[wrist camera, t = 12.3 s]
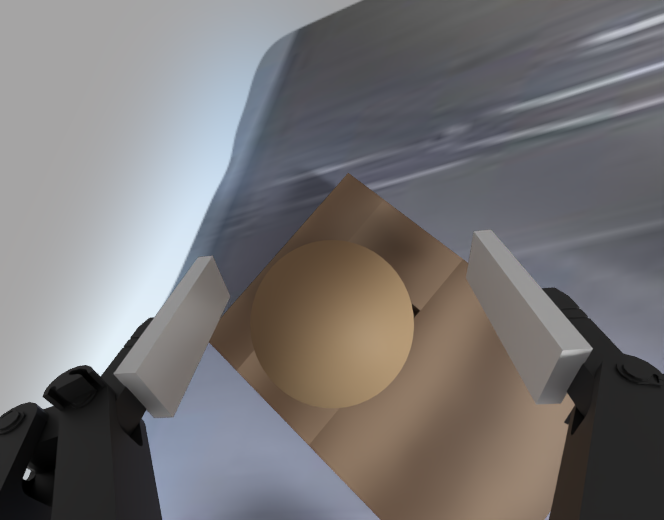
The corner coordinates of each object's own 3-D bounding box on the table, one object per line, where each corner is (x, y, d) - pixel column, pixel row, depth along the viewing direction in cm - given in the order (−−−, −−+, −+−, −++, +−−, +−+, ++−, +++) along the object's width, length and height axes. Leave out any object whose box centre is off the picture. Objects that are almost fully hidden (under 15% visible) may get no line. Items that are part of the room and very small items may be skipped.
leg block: (583, 376, 19) (640, 392, 15) (449, 549, 18) (472, 614, 14) (351, 196, 23) (348, 172, 19) (232, 332, 22) (203, 337, 18)
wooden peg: (397, 312, 21) (455, 311, 7) (356, 361, 21) (338, 454, 7) (348, 271, 22) (322, 204, 8) (309, 318, 22) (213, 327, 8)
